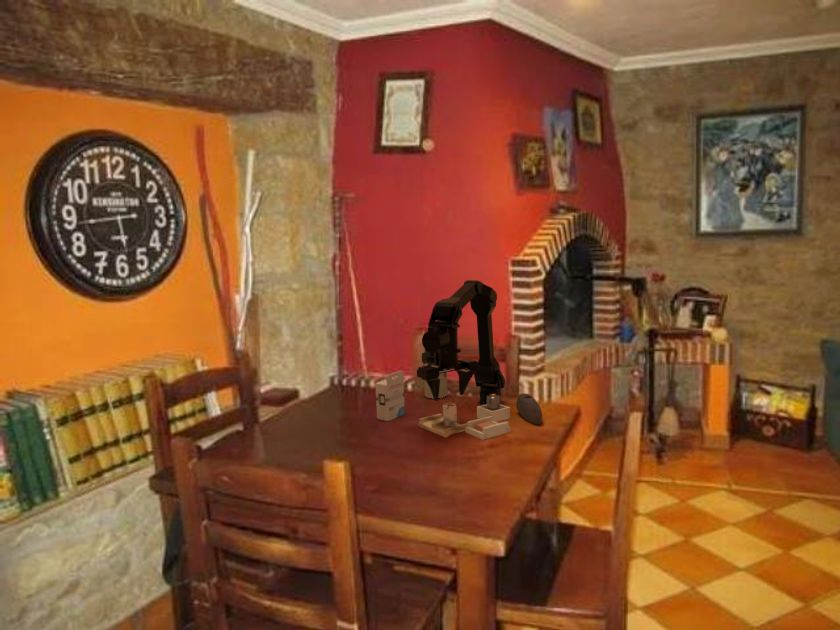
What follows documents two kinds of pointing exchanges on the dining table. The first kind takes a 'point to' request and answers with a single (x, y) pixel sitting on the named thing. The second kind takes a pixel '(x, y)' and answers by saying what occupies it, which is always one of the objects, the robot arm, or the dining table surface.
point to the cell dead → (493, 402)
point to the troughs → (439, 426)
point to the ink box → (390, 397)
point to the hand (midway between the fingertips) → (448, 397)
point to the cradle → (487, 428)
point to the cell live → (449, 415)
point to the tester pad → (483, 425)
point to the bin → (494, 413)
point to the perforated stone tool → (529, 408)
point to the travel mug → (442, 383)
